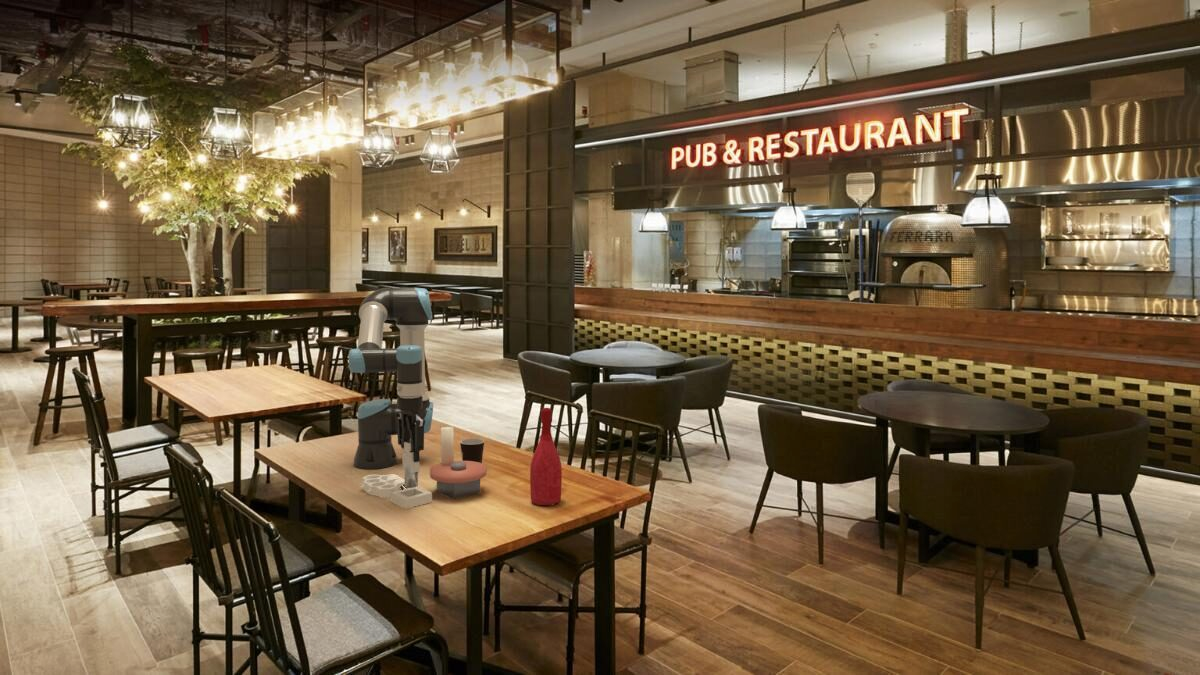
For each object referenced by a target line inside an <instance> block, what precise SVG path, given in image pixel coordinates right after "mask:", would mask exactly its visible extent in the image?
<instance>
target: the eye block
mask: <svg viewBox="0 0 1200 675" xmlns="http://www.w3.org/2000/svg"><path fill="white" fill-rule="evenodd" d="M402 489H403V490H399V491H395V492H391V498H390V502H391V503H392V504H395V505H397V506H399V507H400V508H403V509H405V510H408V508H409V509H412V508H415V507H414V506H416V507H419V506H418V505H420V506H423V504H424V505H427V503H428V504H430V503H431V502H432V503H433V493H432V492H430V491H429V490H426V489H424V488H421V487H419V486H417V487H414V488H408V489H404V488H402ZM432 503H431V504H432ZM411 507H412V508H411Z"/></svg>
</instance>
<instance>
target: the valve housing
mask: <svg viewBox="0 0 1200 675" xmlns="http://www.w3.org/2000/svg"><path fill="white" fill-rule="evenodd" d="M436 493H438V494H439V495H440V494H441V495H442V494H443V495H442V496H445V497H448V498H450V499H452V500H458V499H463V498H465V497H469V496H473V495H476V494H477V495H478V494H481V479H479V480H476V481H471V482H465V483H444V482H439V481H436Z"/></svg>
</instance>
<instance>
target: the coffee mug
mask: <svg viewBox="0 0 1200 675" xmlns="http://www.w3.org/2000/svg"><path fill="white" fill-rule="evenodd" d="M459 442H460V443H459V444H460V452H461V461H474V462H479V463H482V464H483V456H484V449H485V448H484V447H485V439H482V438H465V439H461V440H460V441H459Z"/></svg>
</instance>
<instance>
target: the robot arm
mask: <svg viewBox="0 0 1200 675" xmlns="http://www.w3.org/2000/svg"><path fill="white" fill-rule="evenodd" d="M358 317H359V319H360V325H359V333H358V340H357V347H356V348H352V349H350V350H348V351H349V352H348V369H349V372H351V373H358V374H365V373H396V378H397V380H396V381H397V382H396V391H397V392H396V393H397V396H398V397H397V398H396V403H392V401H391V399H389V398H382V399H381V398H379V399H373V400H369V401H366V402H363V403H361V404H359V406H358V408H357V416H356V417H357V422H358V424H357V427H358V430H357V431H358V433H357V434H358V441H357V442H358V445H357V447H356V451H355V454H354V457H353V466H354V467H355V468H358V469H363V470H377V469H378V468H379V469H384V468H389V466H390V467H392V466H394V465H396V464H397V462H398V456H397V454H396V449H395V448H394V445H393V442H392V436H397V444H398V445H399V446H400V447H401V448H402V450H401V451H402V455H401V456H402V470H404V442H405V441H408V440H411V448H412V450H411V451H410V472H411V473H413V472H420V452H421V451H424V450H425V434H427V433H429V432H430V431H431V428H432V421H433V413H434V402H433V401H430V396H428V395H427V393H426V363H425V362H426V360H425V359H426V358H425V357H426V356H425V352H426V351H425V350H426V349H425V329H426V328H427V327H428V326H429V321H431V320H433V312H432V305H431V301H430V292H429V291H428V290H427V288H421V287H383V288H379V289H376V290H374V291H373V292H371V293H370V294H368V295H367V296H365V298H364V299H363V301H362V302H361V303H360V306H359V310H358ZM388 320H389V321H395V326H396V327H397V328H398V329H399V335H400V336H399V337H400V339H399V342H400V344H399V346H398V347H397V348H396V347H395V348H394V347H393V348H390V347H389V348H387V347H386V348H383V338H384V337H383V336H384V335H383V334H384V324H385V322H386V321H388ZM379 469H378V470H379Z"/></svg>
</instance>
